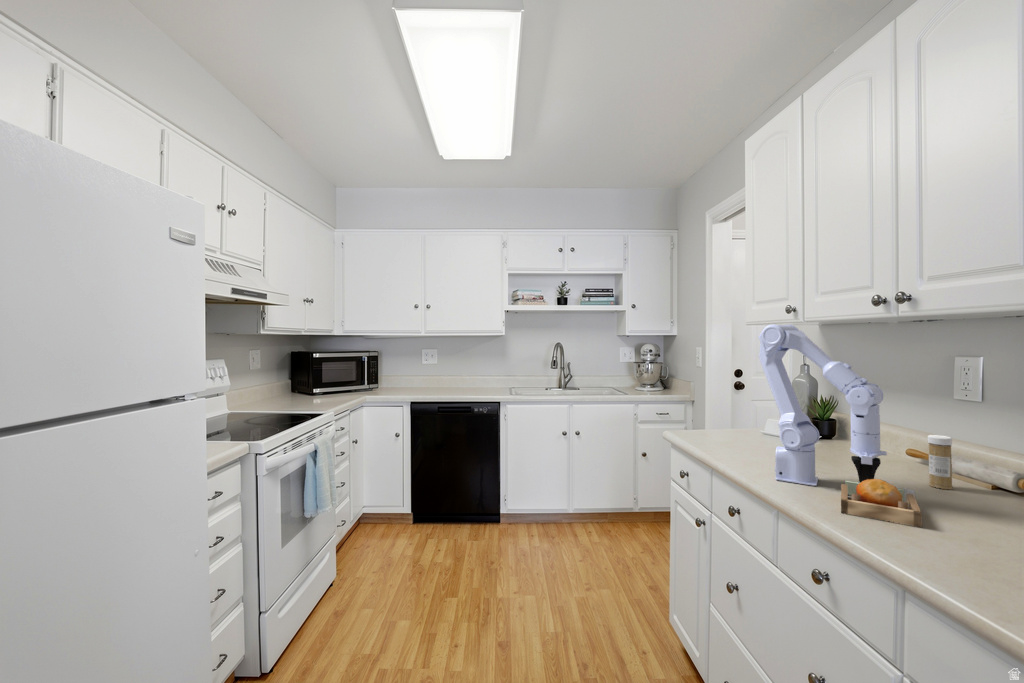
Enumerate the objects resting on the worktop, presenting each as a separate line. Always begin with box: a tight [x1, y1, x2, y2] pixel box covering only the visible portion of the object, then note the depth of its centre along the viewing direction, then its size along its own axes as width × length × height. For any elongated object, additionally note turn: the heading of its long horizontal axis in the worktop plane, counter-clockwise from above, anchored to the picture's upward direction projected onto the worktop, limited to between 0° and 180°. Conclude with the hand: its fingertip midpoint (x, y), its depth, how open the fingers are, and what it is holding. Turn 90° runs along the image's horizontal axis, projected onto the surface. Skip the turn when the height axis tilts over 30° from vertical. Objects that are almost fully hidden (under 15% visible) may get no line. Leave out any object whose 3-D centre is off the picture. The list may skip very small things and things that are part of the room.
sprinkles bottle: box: [927, 434, 953, 490], centre depth 115 cm, size 5×5×13 cm
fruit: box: [856, 478, 902, 508], centre depth 100 cm, size 8×8×8 cm
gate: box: [844, 480, 916, 502], centre depth 106 cm, size 13×2×3 cm, turn 51°
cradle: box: [840, 483, 923, 528], centre depth 100 cm, size 13×13×4 cm
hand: (866, 486), depth 109 cm, fingers closed
